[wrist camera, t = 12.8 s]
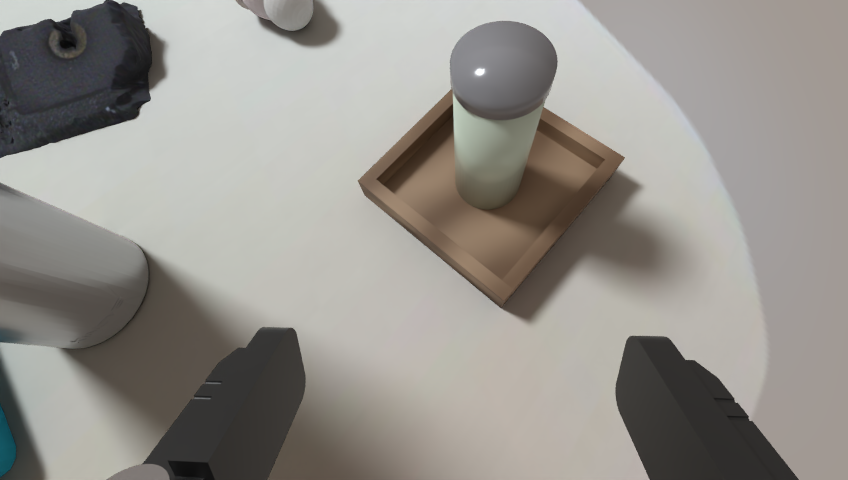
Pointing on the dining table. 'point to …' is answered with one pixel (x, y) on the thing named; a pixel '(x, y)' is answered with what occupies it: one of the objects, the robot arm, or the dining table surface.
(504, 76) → the shaker
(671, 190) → the dining table surface
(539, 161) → the tray
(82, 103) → the dark slate chunk
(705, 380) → the robot arm
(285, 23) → the ice cream cone
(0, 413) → the ice cube tray
